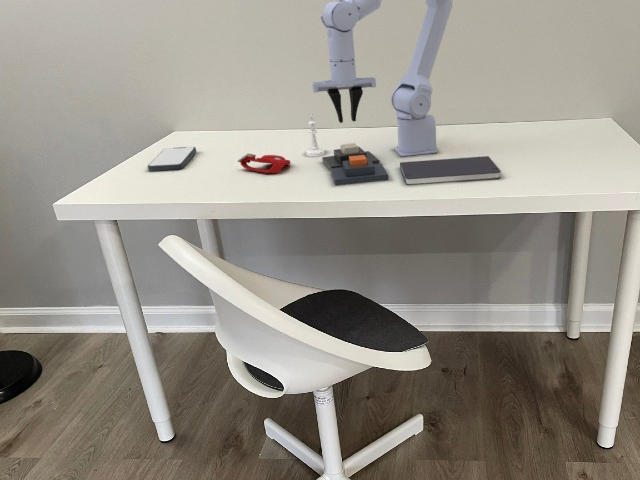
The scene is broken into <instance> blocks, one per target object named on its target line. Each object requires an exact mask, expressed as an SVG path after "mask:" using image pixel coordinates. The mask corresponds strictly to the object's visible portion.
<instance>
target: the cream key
mask: <svg viewBox="0 0 640 480" xmlns="http://www.w3.org/2000/svg"><path fill="white" fill-rule="evenodd" d="M339 147H340V149H341V152H342V153H343V154H352V153H359V147H360V146H359V145H357V144H356V143H355V142H351V143H344V144H340V146H339Z"/></svg>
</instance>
